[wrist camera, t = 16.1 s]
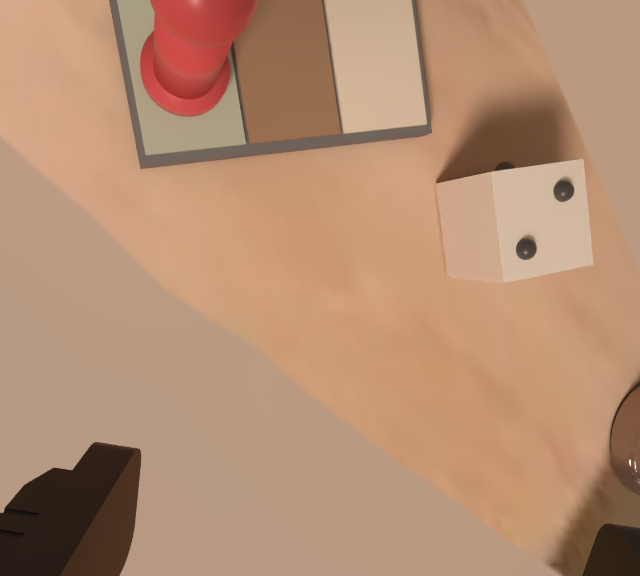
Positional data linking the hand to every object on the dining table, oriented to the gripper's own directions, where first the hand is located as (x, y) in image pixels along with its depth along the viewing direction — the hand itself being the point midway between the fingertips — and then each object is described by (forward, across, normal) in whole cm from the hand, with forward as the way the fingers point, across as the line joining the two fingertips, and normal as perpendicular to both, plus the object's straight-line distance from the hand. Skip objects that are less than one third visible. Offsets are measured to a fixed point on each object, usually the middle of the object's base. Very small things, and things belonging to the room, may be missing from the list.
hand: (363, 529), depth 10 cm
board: (+26, +5, -9) cm, 28 cm away
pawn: (+23, +10, -8) cm, 26 cm away
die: (+29, -9, -2) cm, 30 cm away
